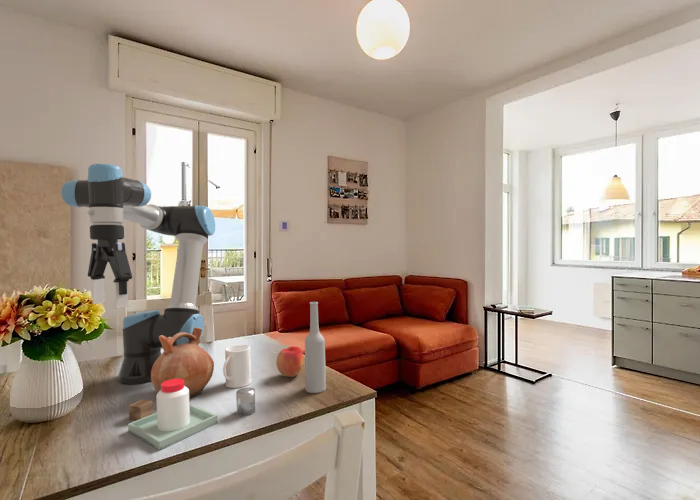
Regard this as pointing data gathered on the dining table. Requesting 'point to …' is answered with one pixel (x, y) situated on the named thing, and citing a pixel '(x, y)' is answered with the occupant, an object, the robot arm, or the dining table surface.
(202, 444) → the dining table surface
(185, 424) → the pill bottle
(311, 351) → the bottle
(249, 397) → the grey tin
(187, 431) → the tray
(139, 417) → the walnut block
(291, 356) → the apple
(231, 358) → the mug
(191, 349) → the jug
